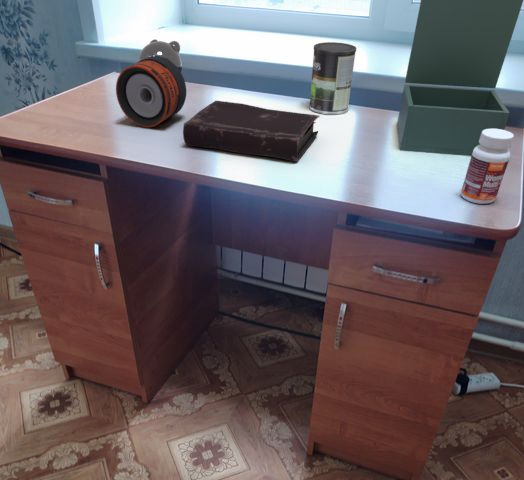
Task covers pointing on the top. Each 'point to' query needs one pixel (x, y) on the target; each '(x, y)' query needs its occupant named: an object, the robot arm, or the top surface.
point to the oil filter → (151, 91)
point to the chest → (447, 118)
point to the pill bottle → (487, 166)
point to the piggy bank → (163, 51)
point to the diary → (251, 130)
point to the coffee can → (331, 77)
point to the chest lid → (461, 42)
